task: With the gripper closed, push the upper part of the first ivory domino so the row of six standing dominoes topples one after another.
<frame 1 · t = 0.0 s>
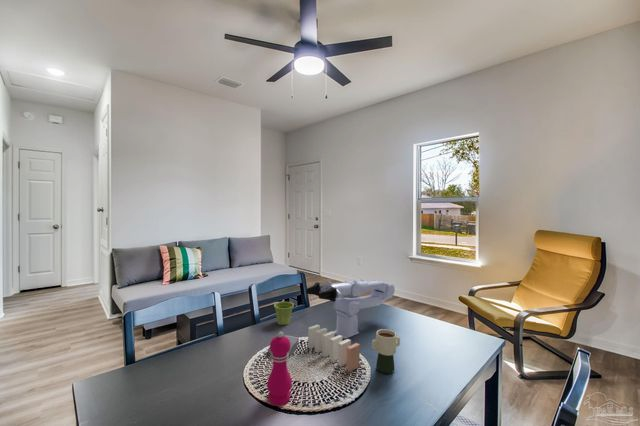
hand: (313, 293, 119), 22 cm above the table, tool horizontal, fingers open, 7 cm apart
plant pot: (283, 323, 143), on the table
stone block: (283, 350, 117), on the table
domino 6: (352, 368, 105), on the table
domino 5: (344, 363, 108), on the table
domino 3: (328, 354, 114), on the table
domino 2: (320, 350, 117), on the table
domino 4: (335, 358, 111), on the table
pepper mill: (279, 399, 87), on the table
domino 1: (313, 346, 120), on the table
character mug: (385, 370, 104), on the table
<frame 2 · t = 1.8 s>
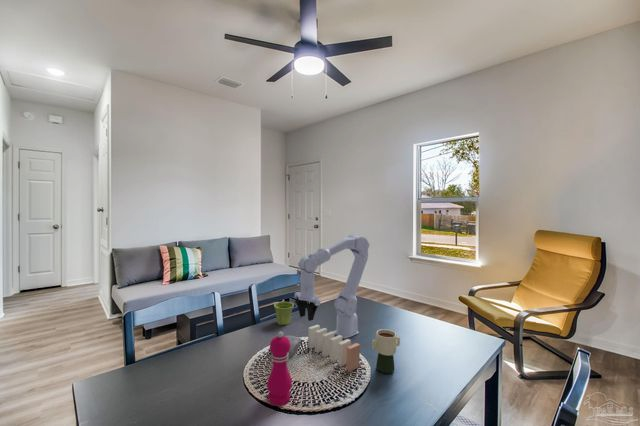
hand: (306, 318, 124), 10 cm above the table, tool pointing down, fingers open, 5 cm apart
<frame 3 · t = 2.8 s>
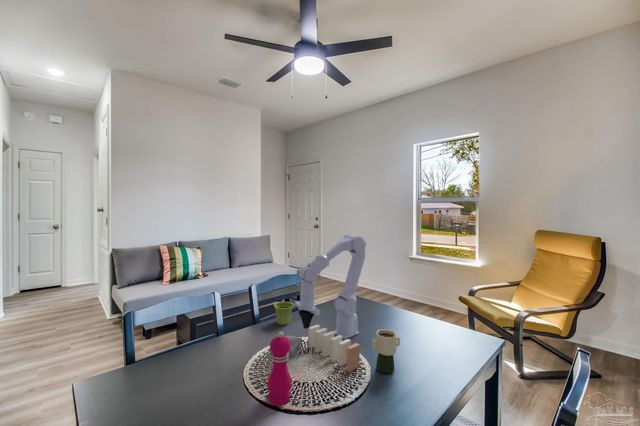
hand: (306, 327, 124), 6 cm above the table, tool pointing down, fingers closed
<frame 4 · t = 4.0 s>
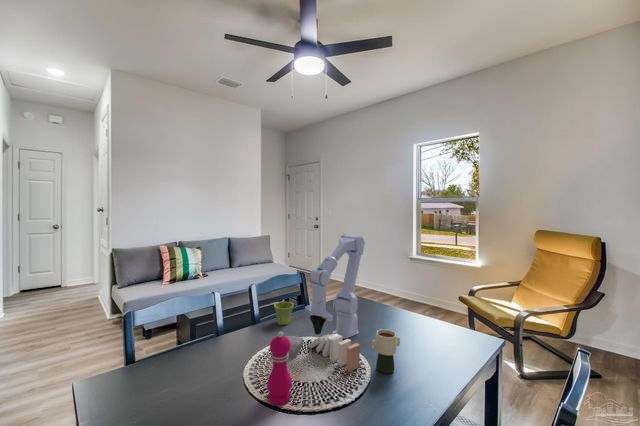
hand: (317, 333, 118), 6 cm above the table, tool pointing down, fingers closed
domino 3: (328, 353, 114), on the table, tilted 20°, touching domino 2, domino 4
domino 2: (321, 349, 117), on the table, tilted 36°, touching domino 1, domino 3
domino 4: (335, 358, 111), on the table, touching domino 3
domino 1: (314, 344, 120), point 1 cm above the table, tilted 49°, touching domino 2
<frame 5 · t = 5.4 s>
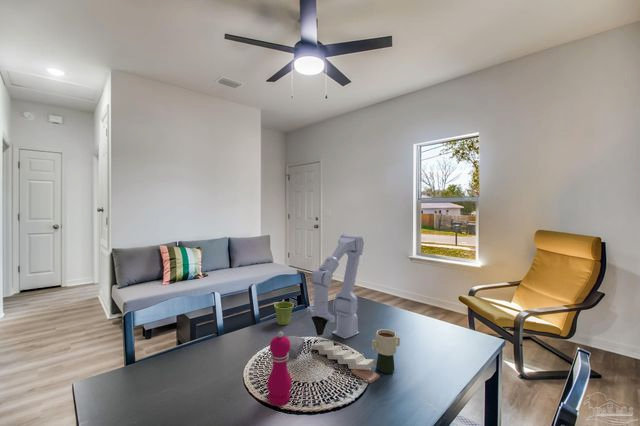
hand: (319, 334, 117), 6 cm above the table, tool pointing down, fingers closed
domino 6: (356, 369, 104), on the table, tilted 90°
domino 5: (352, 363, 106), point 1 cm above the table, tilted 72°, touching domino 4
domino 3: (332, 354, 112), point 1 cm above the table, tilted 70°, touching domino 2
domino 2: (323, 349, 116), point 1 cm above the table, tilted 70°, touching domino 1, domino 3
domino 4: (342, 359, 109), point 1 cm above the table, tilted 69°, touching domino 5
domino 1: (316, 345, 119), point 1 cm above the table, tilted 70°, touching domino 2
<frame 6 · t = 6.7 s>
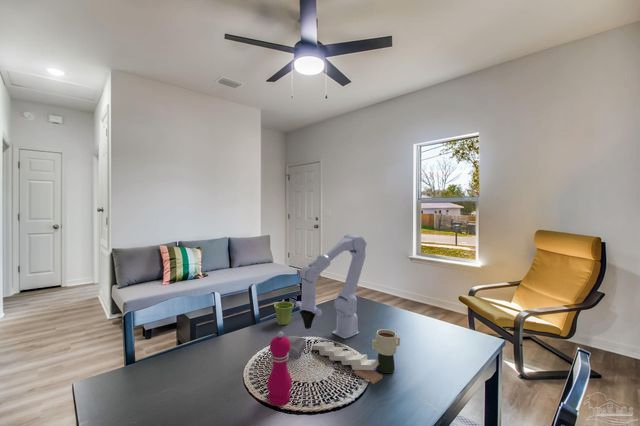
hand: (307, 327, 123), 6 cm above the table, tool pointing down, fingers closed
domino 5: (355, 364, 105), point 1 cm above the table, tilted 70°, touching domino 4
domino 3: (333, 355, 112), point 1 cm above the table, tilted 70°, touching domino 2, domino 4
domino 4: (345, 360, 108), point 1 cm above the table, tilted 70°, touching domino 3, domino 5
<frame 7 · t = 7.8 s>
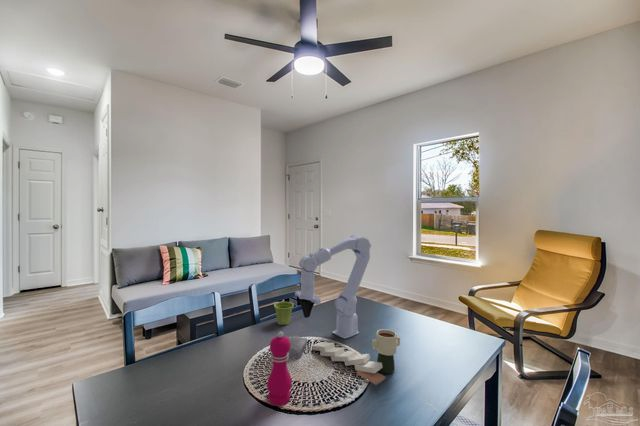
hand: (306, 316, 125), 10 cm above the table, tool pointing down, fingers closed
domino 5: (359, 365, 104), point 1 cm above the table, tilted 75°, touching domino 4
domino 3: (335, 356, 111), point 1 cm above the table, tilted 70°
domino 2: (325, 351, 115), point 1 cm above the table, tilted 70°, touching domino 1
domino 4: (348, 360, 108), point 1 cm above the table, tilted 67°, touching domino 5
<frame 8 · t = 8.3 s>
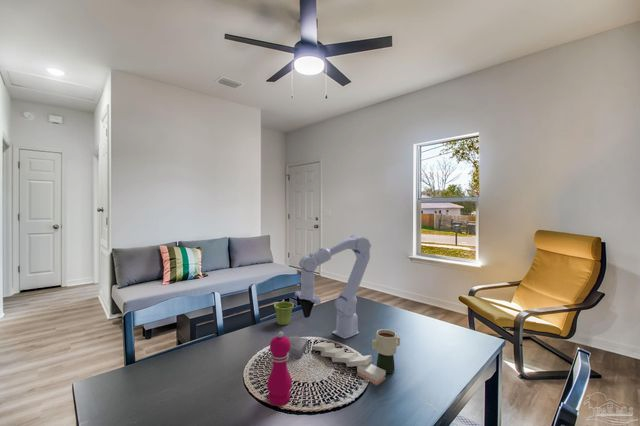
hand: (306, 316, 125), 10 cm above the table, tool pointing down, fingers closed
domino 6: (361, 372, 102), on the table, tilted 90°, touching domino 5
domino 5: (361, 366, 103), point 1 cm above the table, tilted 90°, touching domino 4, domino 6
domino 3: (336, 357, 111), point 1 cm above the table, tilted 71°, touching domino 2, domino 4
domino 2: (325, 351, 114), point 1 cm above the table, tilted 71°, touching domino 1, domino 3
domino 4: (349, 361, 107), point 1 cm above the table, tilted 68°, touching domino 3, domino 5
at the end: domino 6 tilted 90°; domino 1 tilted 73° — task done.
